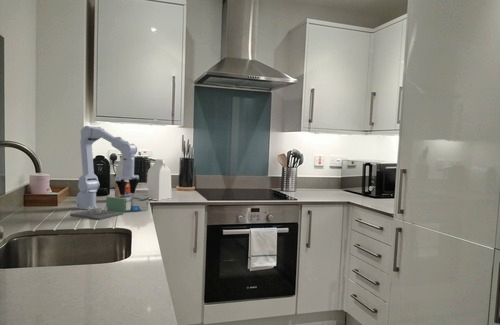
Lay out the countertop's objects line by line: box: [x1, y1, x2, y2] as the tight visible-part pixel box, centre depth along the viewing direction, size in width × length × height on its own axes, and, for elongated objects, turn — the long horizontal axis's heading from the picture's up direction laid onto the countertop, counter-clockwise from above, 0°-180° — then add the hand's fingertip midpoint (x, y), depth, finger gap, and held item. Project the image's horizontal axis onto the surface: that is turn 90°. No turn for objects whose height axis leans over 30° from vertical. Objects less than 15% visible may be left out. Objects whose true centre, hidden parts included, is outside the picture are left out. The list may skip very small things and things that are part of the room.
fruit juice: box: [114, 155, 131, 202], centre depth 227 cm, size 9×9×28 cm
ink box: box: [130, 182, 150, 212], centre depth 198 cm, size 8×5×15 cm, turn 124°
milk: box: [146, 158, 173, 200], centre depth 240 cm, size 12×12×26 cm
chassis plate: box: [69, 205, 124, 221], centre depth 181 cm, size 18×16×4 cm
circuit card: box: [105, 196, 127, 213], centre depth 194 cm, size 12×2×7 cm, turn 68°
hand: (127, 193), depth 188 cm, fingers open, 7 cm apart
